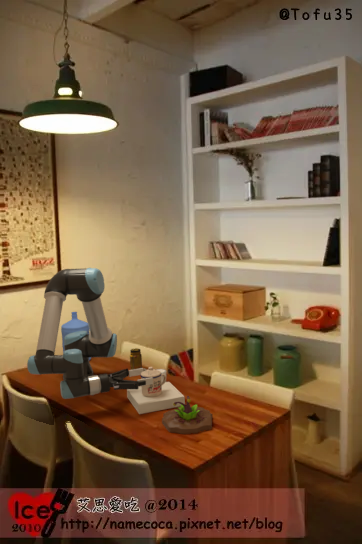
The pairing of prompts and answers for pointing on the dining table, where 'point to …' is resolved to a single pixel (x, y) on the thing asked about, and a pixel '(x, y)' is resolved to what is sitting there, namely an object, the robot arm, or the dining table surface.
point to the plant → (187, 419)
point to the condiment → (136, 359)
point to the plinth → (155, 399)
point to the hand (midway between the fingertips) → (147, 375)
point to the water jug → (73, 327)
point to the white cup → (162, 373)
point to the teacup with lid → (156, 387)
